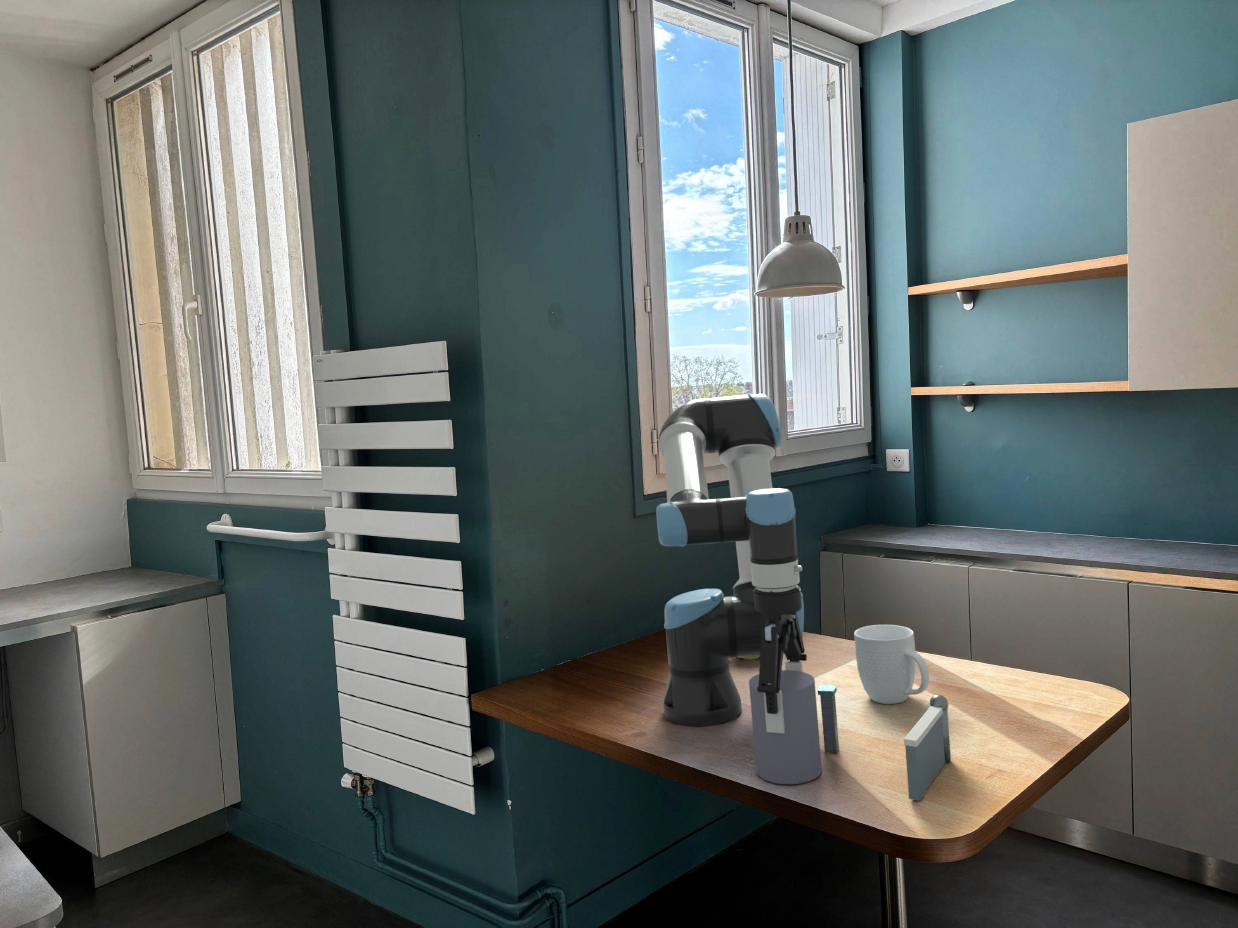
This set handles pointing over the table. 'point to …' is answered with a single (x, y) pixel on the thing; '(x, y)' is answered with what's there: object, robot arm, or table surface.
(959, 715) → the table surface
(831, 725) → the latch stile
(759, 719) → the container
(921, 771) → the grey flat board
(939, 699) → the hinge post
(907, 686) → the mug
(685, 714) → the robot arm
